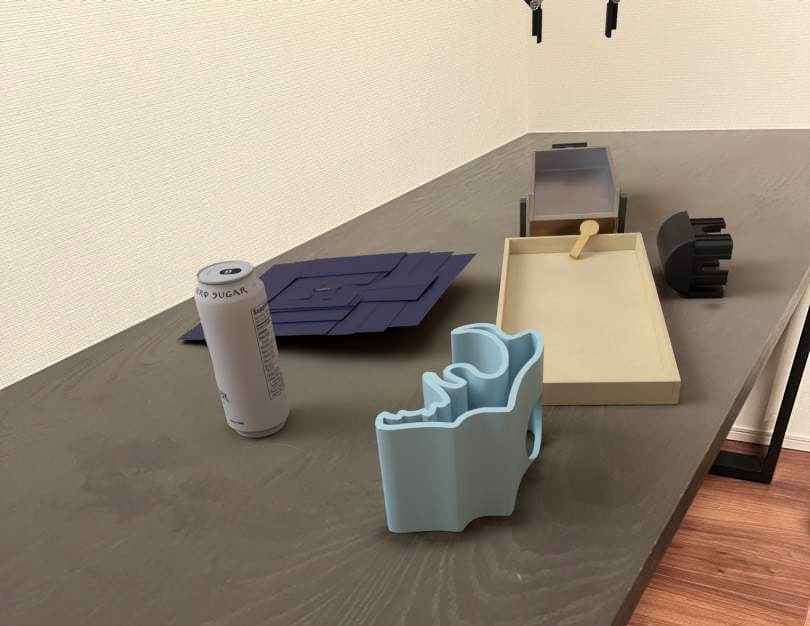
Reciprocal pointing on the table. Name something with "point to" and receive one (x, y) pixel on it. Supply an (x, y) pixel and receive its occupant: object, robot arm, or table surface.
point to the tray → (590, 319)
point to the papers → (354, 292)
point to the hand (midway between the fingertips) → (573, 39)
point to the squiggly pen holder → (465, 433)
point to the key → (584, 237)
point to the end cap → (694, 255)
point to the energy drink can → (242, 347)
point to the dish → (573, 183)
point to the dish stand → (572, 223)
